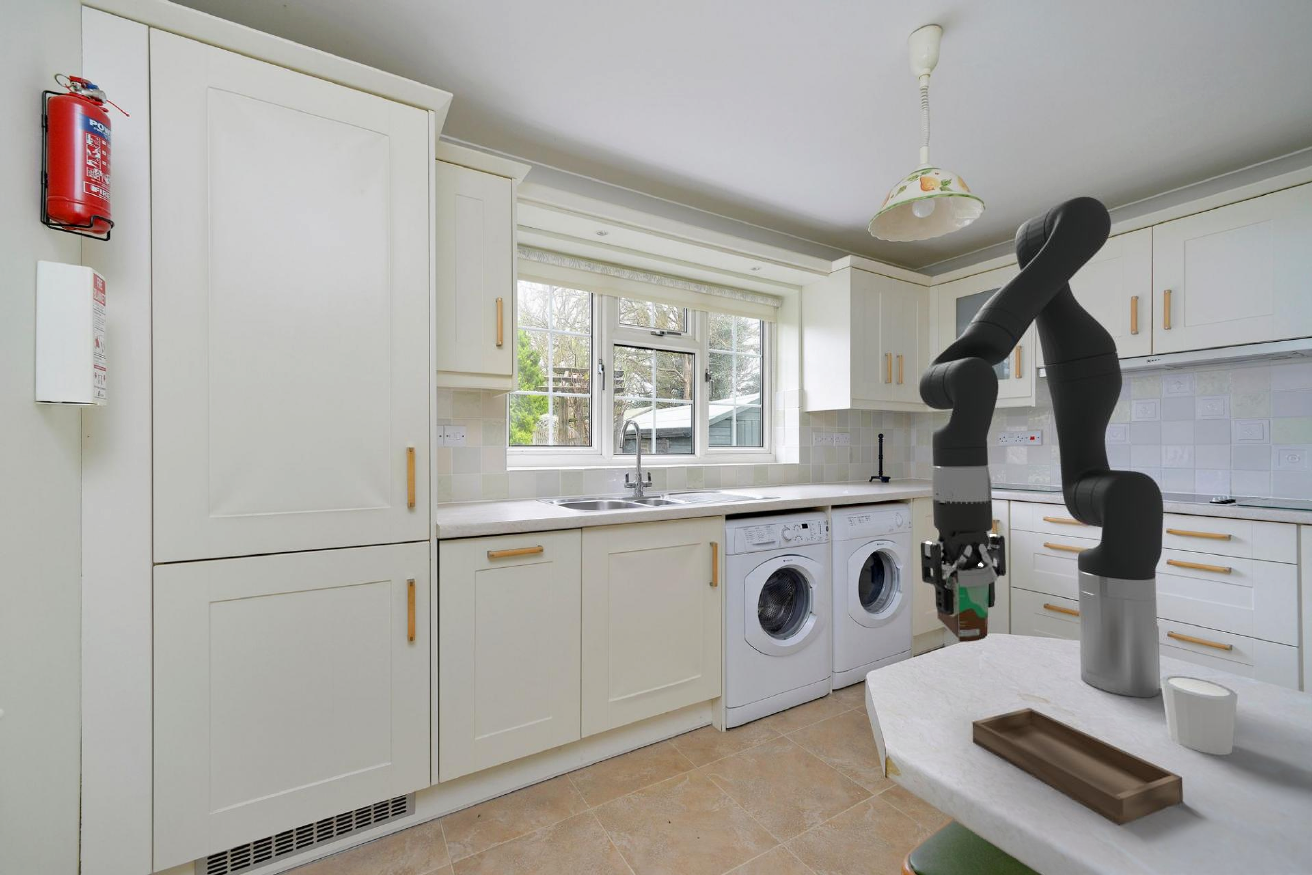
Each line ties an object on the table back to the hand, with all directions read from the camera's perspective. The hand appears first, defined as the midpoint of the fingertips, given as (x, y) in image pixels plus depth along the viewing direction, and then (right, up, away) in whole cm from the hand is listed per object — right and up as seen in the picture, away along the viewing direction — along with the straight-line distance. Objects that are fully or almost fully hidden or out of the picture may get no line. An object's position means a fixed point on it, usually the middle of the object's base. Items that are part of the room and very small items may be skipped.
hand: (966, 609), depth 79 cm
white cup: (+23, -13, -11) cm, 29 cm away
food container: (+1, -3, 0) cm, 3 cm away
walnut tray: (+2, -13, -16) cm, 21 cm away
